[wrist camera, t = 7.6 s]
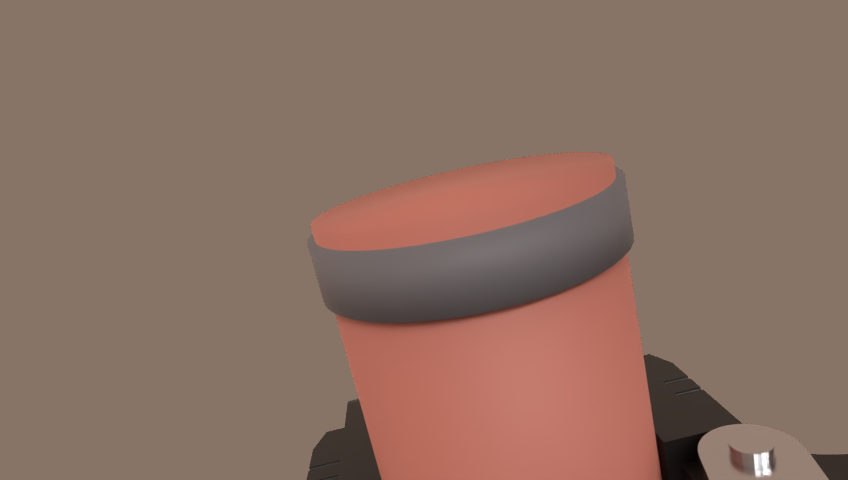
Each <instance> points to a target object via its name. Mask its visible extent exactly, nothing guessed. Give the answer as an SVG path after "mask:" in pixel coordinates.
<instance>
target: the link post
mask: <svg viewBox="0 0 848 480" xmlns="http://www.w3.org/2000/svg"><path fill="white" fill-rule="evenodd" d="M311 229H312V233H313V234H312V235H311V236H310V237H309V239H308V242H307V244H308V248H309V252H310V255H311V259H312V262H313V265H314V269H315V273H316V276H317V280H318V283H319V287H320V290H321V294H322V297H323V301H324V303H325V305H326V307H327V308H328V309H330V310H331V311H332V312H334V313H335V315H336V319H337V322H338V326H339V329H340V333H341V336H342V340H343V344H344V347H345V350H346V354H347V358H348V361H349V365H350V369H351V372H352V375H353V379H354V383H355V386H356V390H357V394H358V397H359V401H360V404H361V408H362V412H363V415H364V419H365V422H366V426H367V429H368V433H369V437H370V440H371V444H372V447H373V451H374V454H375V458H376V462H377V465H378V469H379V472H380V476H381V479H382V480H662V476H661V469H660V462H659V456H658V449H657V443H656V436H655V429H654V423H653V416H652V410H651V403H650V396H649V390H648V383H647V377H646V370H645V363H644V357H643V351H642V343H641V337H640V331H639V324H638V317H637V310H636V304H635V298H634V291H633V284H632V277H631V271H630V264H629V258H628V251H629V250H630V249H631V247H632V244H633V242H634V234H633V228H632V221H631V215H630V207H629V201H628V194H627V188H626V181H625V175H624V172H623V171H622V170H621V169H619V168H617V167H615V165H614V159H613V158H612V157H611V156H609V155H607V154H603V153H595V152H569V153H568V152H567V153H554V154H544V155H536V156H528V157H522V158H515V159H509V160H503V161H497V162H492V163H487V164H481V165H476V166H471V167H467V168H462V169H457V170H453V171H448V172H444V173H440V174H436V175H431V176H427V177H423V178H420V179H416V180H412V181H409V182H405V183H402V184H398V185H395V186H391V187H388V188H385V189H382V190H378V191H375V192H373V193H369V194H367V195H364V196H361V197H359V198H355V199H353V200H350V201H348V202H345V203H343V204H341V205H339V206H336V207H334V208H332V209H330V210H328V211H326V212H324V213H323V214H321V215H319V216H318V217H317V218H315V220H313V222H312V223H311Z"/></svg>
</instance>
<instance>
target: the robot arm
mask: <svg viewBox="0 0 848 480" xmlns="http://www.w3.org/2000/svg"><path fill="white" fill-rule="evenodd" d="M643 357H644V363H645V370H646V377H647V383H648V390H649V396H650V403H651V410H652V416H653V423H654V429H655V436H656V443H657V449H658V456H659V462H660V469H661V476H662V480H848V454H845V455H843V454H842V455H816V454H810V453H809V451H808V450H807V449H806V448H805V446H804V445H803V444H802V443H801V442H800V441H798V440H797V439H796V438H794V437H793V436H791V435H789V434H787V433H785V432H783V431H780V430H777V429H774V428H771V427H766V426H762V425H754V424H742V423H741V422H740V421H739V420H737V419H736V418H735V417H734V416H733V415H731V414H730V413H729V412H728V411H727V410H726V409H725V408H724V407H722V406H721V405H720V404H719V403H718V402H717V401H716V400H714V399H713V398H712V397H711V396H710V395H708V394H707V393H706V392H705V391H704V390H701V389H700V387H699V386H698V385H697V384H696V383H695V382H694V381H693V380H691V379H688V376H687V375H686V374H685V373H683V372H682V371H681V370H680V369H679V368H678V367H676V366H675V365H674V364H673V363H671V362H669V361H666V360H663V359H660V358H658V357H655V356H653V355H650V354H648V355H644V356H643ZM309 468H310V471H309V472H308V477H307V480H382V479H381V476H380V472H379V469H378V465H377V462H376V458H375V454H374V451H373V447H372V444H371V440H370V437H369V433H368V429H367V426H366V422H365V419H364V415H363V412H362V408H361V404H360V401H359V399H356V400H352V401H349V402H348V405H347V413H346V422H345V428H342V429H337V430H333V431H330V432H327V433H326V434H325V435H324V436H323V438H322V439H321V440H320V442H319V443H318V444H317V445H316V447H315V448H314V449H313V453H312V458H311V462H310V467H309Z"/></svg>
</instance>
